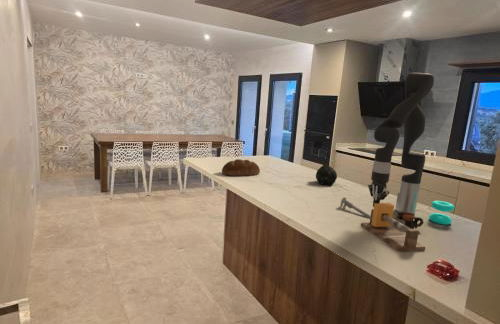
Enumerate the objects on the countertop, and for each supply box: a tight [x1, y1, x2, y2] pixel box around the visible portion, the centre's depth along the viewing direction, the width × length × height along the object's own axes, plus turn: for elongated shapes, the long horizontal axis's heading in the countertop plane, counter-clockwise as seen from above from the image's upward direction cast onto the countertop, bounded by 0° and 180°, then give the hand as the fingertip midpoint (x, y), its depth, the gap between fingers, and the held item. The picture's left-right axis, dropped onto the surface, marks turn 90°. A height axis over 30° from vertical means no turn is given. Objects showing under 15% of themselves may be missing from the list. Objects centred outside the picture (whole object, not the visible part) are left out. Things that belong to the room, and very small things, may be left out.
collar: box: [371, 202, 395, 227], centre depth 142 cm, size 3×8×10 cm, turn 104°
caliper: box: [340, 196, 371, 219], centre depth 165 cm, size 20×1×6 cm, turn 35°
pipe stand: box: [360, 208, 426, 253], centre depth 136 cm, size 26×12×8 cm, turn 14°
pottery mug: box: [395, 212, 424, 229], centre depth 150 cm, size 12×10×8 cm
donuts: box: [428, 200, 455, 226], centre depth 160 cm, size 10×10×10 cm
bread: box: [221, 158, 261, 177], centre depth 234 cm, size 16×29×11 cm, turn 115°
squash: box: [315, 163, 338, 186], centre depth 223 cm, size 14×15×15 cm
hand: (375, 207), depth 147 cm, fingers closed
